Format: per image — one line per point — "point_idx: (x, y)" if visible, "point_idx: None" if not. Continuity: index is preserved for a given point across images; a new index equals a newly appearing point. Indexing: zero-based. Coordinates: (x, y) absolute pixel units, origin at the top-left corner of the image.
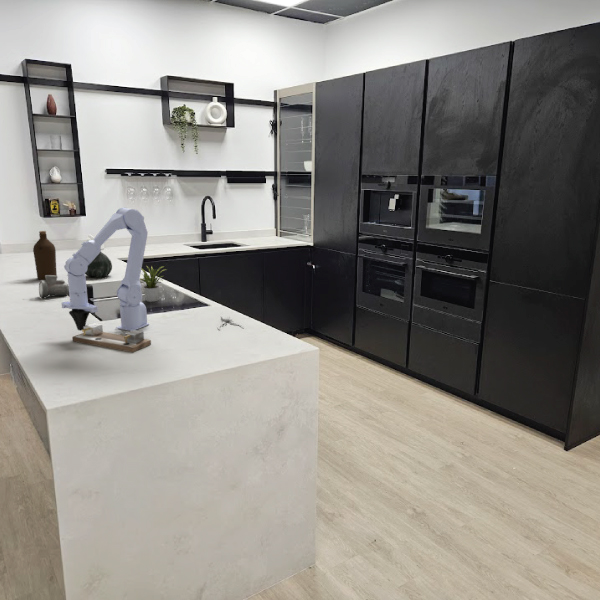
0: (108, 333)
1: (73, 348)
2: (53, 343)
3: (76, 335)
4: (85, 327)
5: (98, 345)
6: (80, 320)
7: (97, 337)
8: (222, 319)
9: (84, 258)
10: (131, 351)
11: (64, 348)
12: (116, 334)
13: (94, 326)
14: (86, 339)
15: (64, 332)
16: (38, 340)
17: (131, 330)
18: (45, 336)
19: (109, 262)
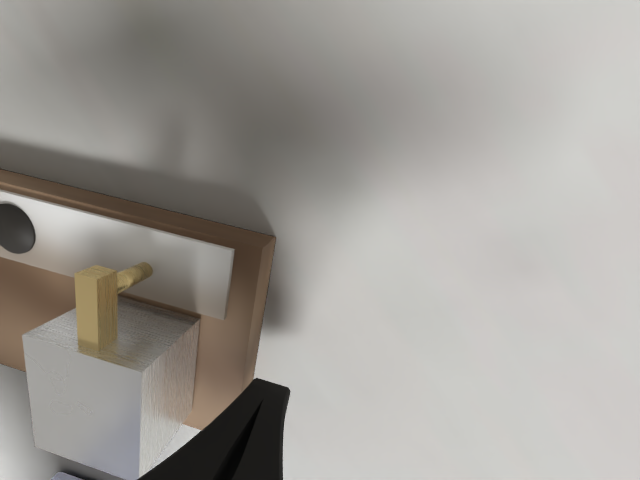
0: None
1: (141, 55)
2: (405, 134)
3: (252, 292)
4: (121, 357)
5: (22, 176)
6: (158, 470)
7: (48, 263)
8: None
9: None
10: None
11: (210, 26)
12: (7, 360)
13: (41, 381)
14: (100, 207)
15: (485, 429)
16: (631, 182)
17: (60, 474)
18: (616, 312)
19: None
